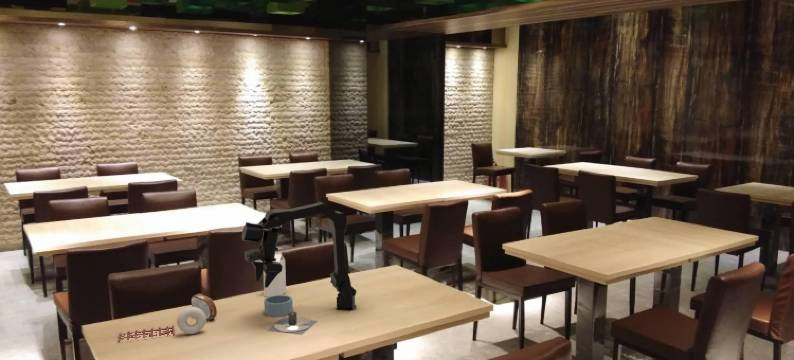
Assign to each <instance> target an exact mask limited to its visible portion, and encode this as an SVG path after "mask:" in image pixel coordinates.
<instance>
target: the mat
mask: <svg viewBox="0 0 794 360" xmlns="http://www.w3.org/2000/svg"><path fill="white" fill-rule="evenodd" d="M284 318H288V317H286V316H283V317H282V319H284ZM309 320H310V321H311V326H310V327H309V328H308V329H306V330H304V331H300V332H292V333H289V334H292V335H300V336H302V335H303V334H305V333H306V332H307V331H308V330H309V329H311V327H313V326H314V325H315V324H316V323H318V320H315V319H314V320H313V319H309ZM266 331H267V332H272V333H273V332H274V333H281V334H282V333H284V334H287V333H286V332H280V331H277V330H276V329H275V328H274V325H272V326H271V327H269V328H268V329H267V330H266Z"/></svg>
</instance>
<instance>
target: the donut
mask: <svg viewBox="0 0 794 360" xmlns="http://www.w3.org/2000/svg"><path fill="white" fill-rule="evenodd" d="M191 317H194V318H195V319H196V321H195V323H193V324H189V323H188V319H189V318H191ZM206 322H207V320H206V316H205V313H204V312H203V311H202V310H201V309H200V308H197V307H192V306H190V307H186V308H184V309H182V310H181V312H180V313H179V314H178V316H177V318H176V325H177V327H178V329H179V331H181V332H182V333H184V334H186V335H194V334H197V333H199V332H201V331H202V329H204V328H205V326H206V324H207V323H206Z"/></svg>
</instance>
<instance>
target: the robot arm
mask: <svg viewBox="0 0 794 360" xmlns="http://www.w3.org/2000/svg"><path fill="white" fill-rule="evenodd" d="M319 214H320V215H322V216H323V217H324V218H326V219H327V221H328V225H329V228H330V232H331V234H332V243H333V244H332V246H333V260H334V263H333V264H334V270H333V272H331V273H329V276H330V283H331V285H332V287H333V288H334V289H336V291H337V292H338V293H337V296H336V308H335V309H336V310H338V311H349V312H352V311H353V310H354V309H355V308H357V304H356V299H355V298H356V295H357V291H358V290H357V289H355V288H354V287H353V286H352V282H351V278H350V275H349V272H348V271H347V263H346V259H347V258H346V244H345V233H346V231H347V226H348V216H346V215H345V213H342V212H340V211H337V210H334V209H332V208H330V207H329V206H328V205H327V204H325V203H323V202H321V201H318V202H315V203H312V204H306V205H302V206H297V207H294V208H288V209H285V208H284V209H283V208H282V209H281V208H277V209H276V208H274V209H269V210H267V211H266V213H265V215H264V217H263V218H262V219H261V220H260V221H259V222H258V223H254V222H253V223H251V222H249V221H248V222H247V221H245V225H243V226H244V227H243V229H242V230H241V240H242V241H243V242H244V241H246V242H255V243H258V242H260V241H261V243H258V245H257V248H252V249H250V250H249V249H248V250H245V251H244V252H243V255H244V259H245V261H246V262H247V263H252V265H253V267H254V268H253V269H254V276H255V277H254V278H255V281H257V282H258V281H259V280H260V279H261V277H262V276H263V275H262V274H264V272H265V288H268V286H269V285H270V284H271V282H272V281H273V280H274V278H275V277H276V276H277V275H278V273H280V272H282V269H283V266H282V265H281V264H280V263H279V262H272V261H276V258H274V257H275V252H279V247H277V246H278V241H279V235H280V234H285V233H286V232H285V231H284V229H283V227H282V226H283V225H286V224H287V223H289V222H291V221H293V220H298V219H301V218H302V219H303V218H306V217H311V216H316V215H319Z"/></svg>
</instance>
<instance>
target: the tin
mask: <svg viewBox="0 0 794 360" xmlns="http://www.w3.org/2000/svg"><path fill="white" fill-rule="evenodd" d="M190 300H191V307H197V308H200V309H201V310H202V311H203V312H204V313H205V316H206V321H209V320H210V321H211V320H213V319H215V318H216V317H217V315H218V313H217V312H218V311H217V306H216V303H215V301H214V300H213V299H212V298H211V297H209V296H207V295H204V294H202V293H197V294H194V295H193V296H192V297H191V299H190Z"/></svg>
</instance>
